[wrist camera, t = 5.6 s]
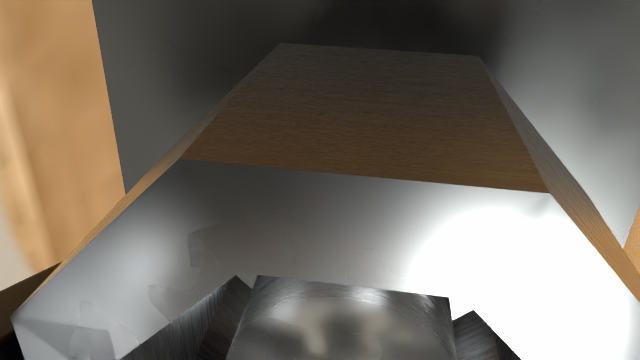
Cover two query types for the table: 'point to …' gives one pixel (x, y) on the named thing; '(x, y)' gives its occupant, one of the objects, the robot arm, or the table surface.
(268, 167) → the octagonal metal collar
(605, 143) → the piston post
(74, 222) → the table surface
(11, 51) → the table surface
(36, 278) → the robot arm
